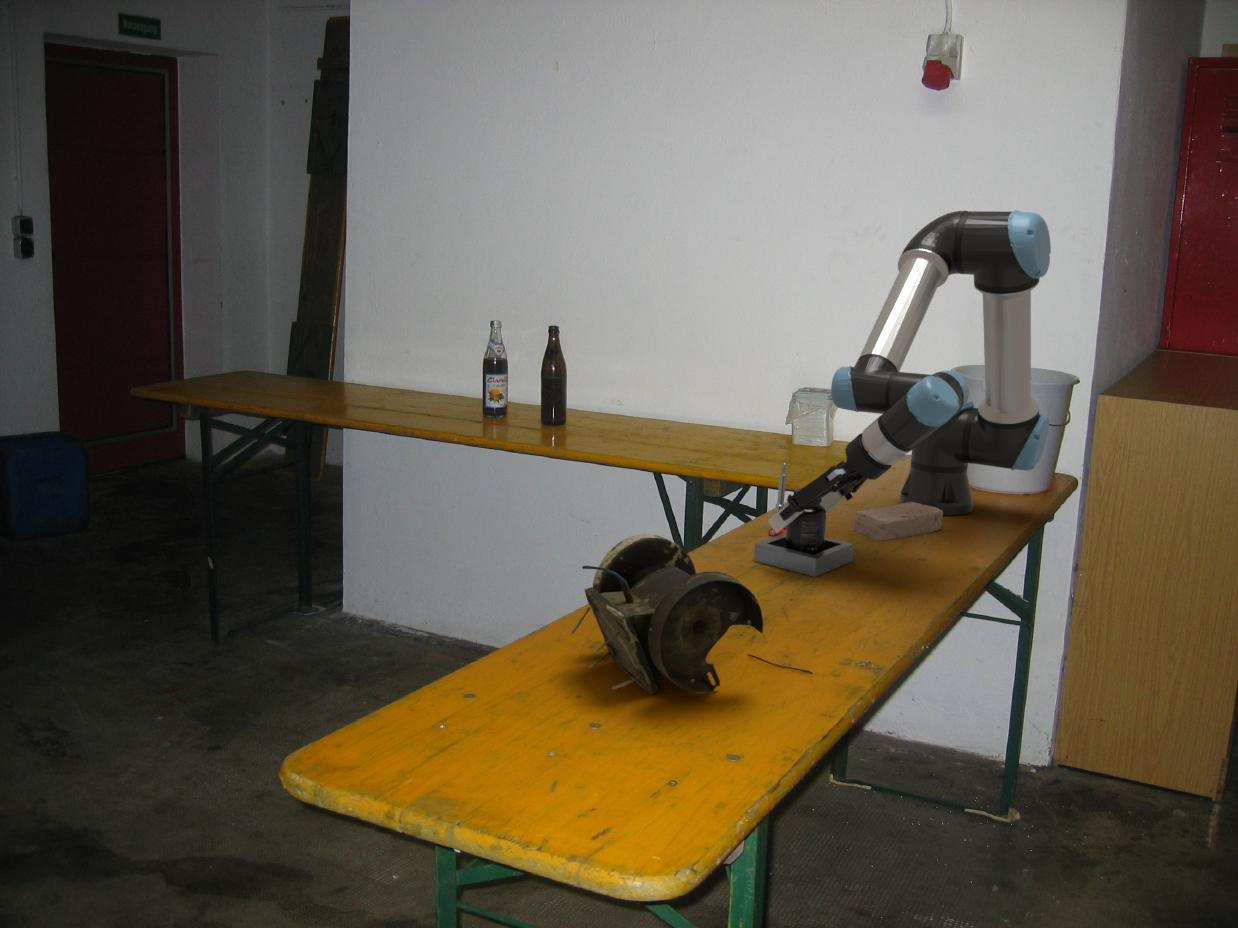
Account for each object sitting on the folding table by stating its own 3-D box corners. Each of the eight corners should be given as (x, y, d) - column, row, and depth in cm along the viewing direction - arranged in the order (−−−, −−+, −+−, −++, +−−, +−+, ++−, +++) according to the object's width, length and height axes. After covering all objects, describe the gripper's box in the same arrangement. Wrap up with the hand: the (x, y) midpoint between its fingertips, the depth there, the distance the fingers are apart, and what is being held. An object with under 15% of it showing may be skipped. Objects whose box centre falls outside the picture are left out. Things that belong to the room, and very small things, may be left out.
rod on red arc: (829, 535, 211) (780, 525, 215) (837, 465, 208) (787, 457, 212) (817, 547, 203) (766, 537, 207) (825, 475, 200) (773, 466, 203)
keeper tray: (792, 546, 201) (793, 530, 200) (852, 561, 193) (853, 543, 192) (753, 560, 191) (754, 543, 191) (815, 576, 183) (816, 558, 183)
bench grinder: (706, 610, 156) (651, 492, 149) (789, 659, 136) (730, 526, 129) (589, 687, 150) (527, 569, 144) (658, 751, 130) (589, 616, 124)
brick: (880, 542, 206) (882, 518, 205) (850, 531, 213) (852, 508, 212) (943, 532, 214) (945, 509, 213) (912, 522, 221) (914, 500, 220)
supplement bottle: (830, 555, 193) (834, 490, 190) (812, 565, 187) (816, 497, 185) (795, 548, 196) (799, 484, 194) (777, 557, 191) (781, 491, 188)
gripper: (852, 478, 169) (766, 551, 182) (925, 456, 187) (842, 523, 200) (824, 440, 171) (742, 514, 184) (899, 422, 189) (819, 490, 202)
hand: (794, 519), depth 192 cm, fingers open, 13 cm apart
